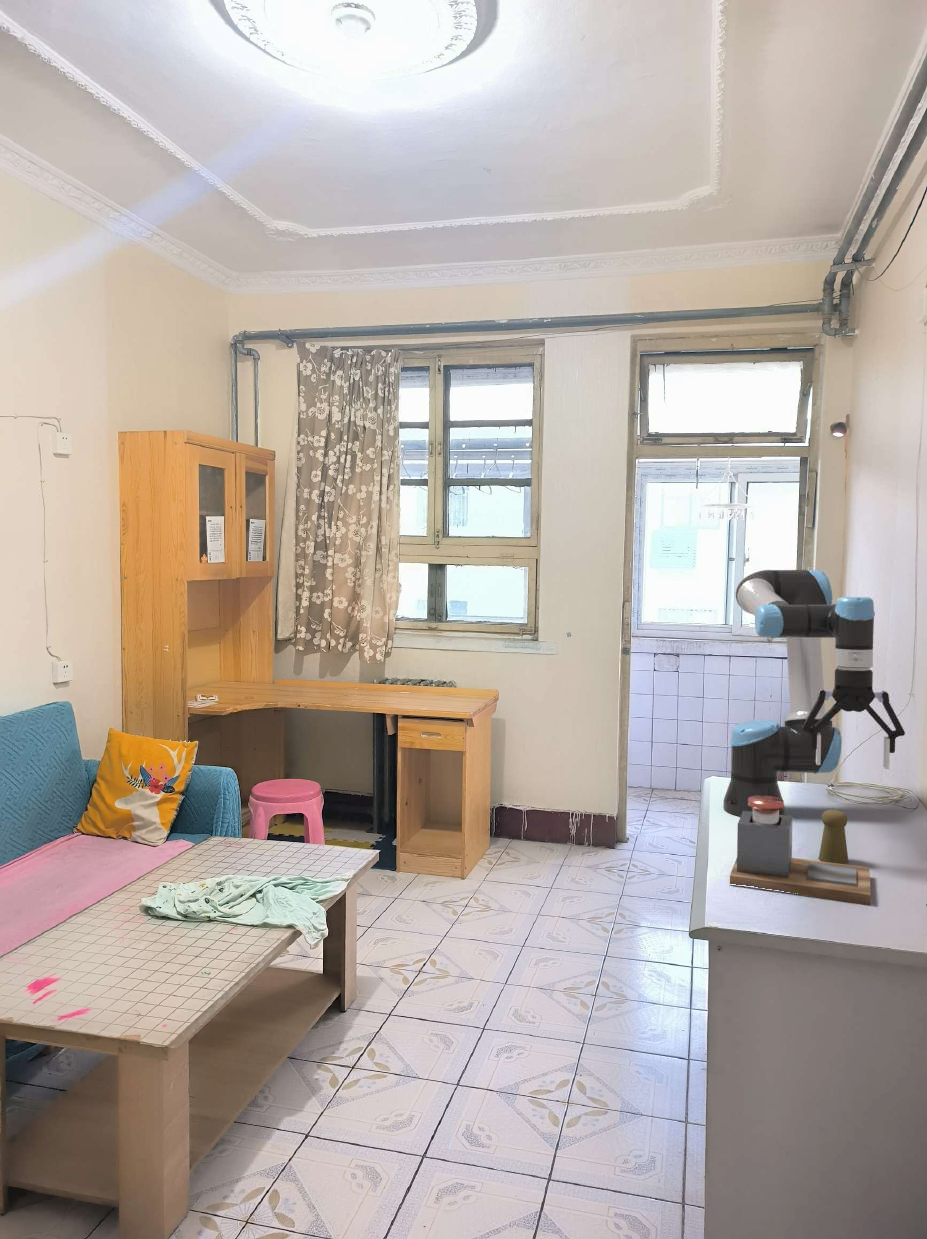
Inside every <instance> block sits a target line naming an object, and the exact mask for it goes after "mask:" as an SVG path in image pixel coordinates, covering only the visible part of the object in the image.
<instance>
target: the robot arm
mask: <svg viewBox="0 0 927 1239" xmlns="http://www.w3.org/2000/svg"><path fill="white" fill-rule="evenodd" d="M735 599H736V603H737V605H738V606H739V607H740V608H741V609H742V610H743V611H744V612H745V613H747V614H749V615H753V616H754V627H755V632H756V634H757V636H758V637H762V638H770V639H775V638H785V639H786V653H787V656H786V657H787V675H788V692H789V693H788V695H789V713H790V714H789V715H788V716H787V717H786V718H785V720H784V726H780V725H779V723H778V722H777V721H775V720H770V719H769V720H768V719H767V720H765V719H758V720H750V721H748V720H747V721H743V722H740V723H738V724H736V725H735V726H734V727H733V728H732V731H731V740H730V745H731V747H730V748H731V751H730V752H731V754H730V755H731V756H730V758H731V759H730V781H729V784H728V787H727V789H726V792H725V794H724V798H723V807H722V808H723V810H724V811H726V812H727V813H729V814H732V815H735V816H737V817H741V815H742V813H743V811H751V812H753V808H752V807H750V806H749V805H748V798H749V797H751V796H758V795H763V796H772V797H777V798H780V799H782V800H783V797H782V796H783V795H782V792H781V790H780V787H779V784H778V782H779V781H778V780H779V779H778V778H779V773H803V774H805V773H806V774H807V773H808V774H815V775H817V774H824V773H825V774H826V773H827V774H828V773H829V774H830V773H832V772H833V771H834V770H836V769H837V766H838V764H839V762H840V758H841V755H842V744H843V743H842V742H843V741H842V740H843V737H842V735H841V731H840V729H839V728H838V727H836V726H833V718H834V717H835V716H836V715H837V714H838V713H839V712H841V711H843V712H844V711H845V712H848V713H849V712H857V713H862V712H864V711H866V712H867V713H868V714H869V715H870V716H871V717H872V719H873V720H874V721H875V722H876V723H877V725H879V726H880V728H881V729H882V730H883V731H884V732H885V733H886V735H887V736H883V762H882V763H883V768H884V770H890V754H895V751H896V738H898V737H904V736H905V735H906V731H905V730H904V728H903V726H902V724H901V722H900V720H899V719H898V716H897V714H896V713H895V711H894V708H893V707H892V705H891V702H890V696H889V692H887V691H885V690H882V691H881V692H879V691H878V692H874V688H873V681H874V680H873V678H874V677H873V676H874V675H873V674H874V671H872V669H871V668H873V666H874V664H873V662H874V661H873V660H874V632H875V630H874V628H875V627H874V626H875V615H876V614H875V606H874V600H873V598H872V597H869V596H866V597H865V596H841V597H838V598H837V599H836V603H833V591H832V586H831V583H830V580H829V578H828V576H827V575H826V574H825V573H824V572H823V571H822V570H815V569H765V570H759V571H756V572H753V573H751V574H749V575H747V576H746V577H744V578H743V579H742V580H741V581H740V582H739V583H738V585H737V587H736V590H735ZM824 638H825V639H835V645H834V646H835V648H834V649H835V650H834V666H835V667H837V668H835V670H834V688H833V690H826V689H825V688H824V687H825V685H824V672H823V671H824V670H823V669H824V668H823V653H822V639H824ZM830 697H832V698H833V700H834V701H835V703H834V704H833V705H832V707H831V708H830V709H829V710H828V711H827V712H826V701H828V700H829V698H830ZM874 699H877V701H878V702H879V703H881V704H882V705H883V708H884V710H885V712H886V713H887V715H888V717H889V719H890V721H891V723H892V726H894V729H895V730H892V729H891V728H890V727H889V725H888V724H887V723H886V722H885V721H884V720H883V719H882V717H880V715H879V714H878V713H877V712H876V711H875V710H874V708H873V707H872V706H871V703H872V702H873V701H874ZM783 801H784V800H783ZM779 815H785V807H784V808H783V809H781V810H779Z"/></svg>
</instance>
